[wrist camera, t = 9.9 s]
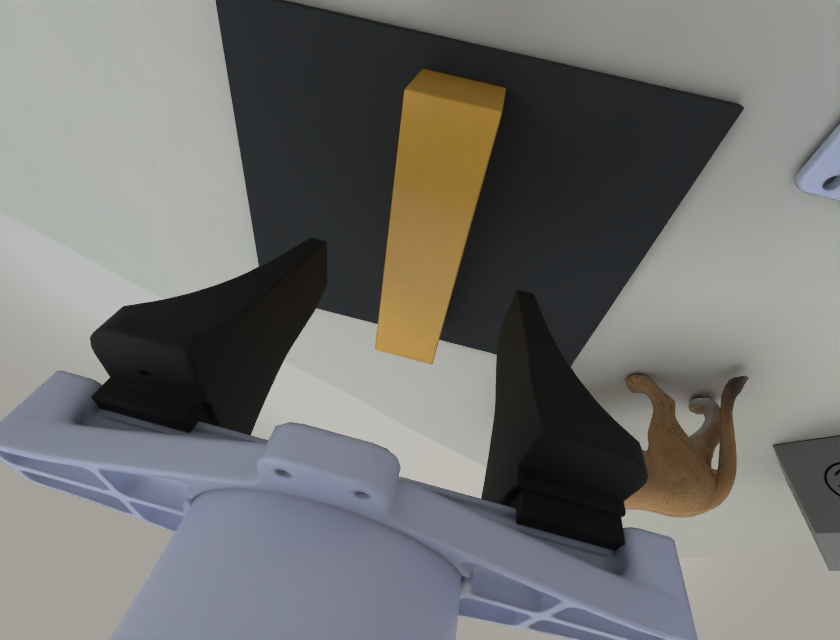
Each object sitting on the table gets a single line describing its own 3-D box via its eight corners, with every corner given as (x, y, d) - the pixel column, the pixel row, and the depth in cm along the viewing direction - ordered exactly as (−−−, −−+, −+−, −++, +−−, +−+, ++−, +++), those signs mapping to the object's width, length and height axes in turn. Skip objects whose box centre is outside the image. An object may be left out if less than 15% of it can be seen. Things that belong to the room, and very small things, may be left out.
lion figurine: (518, 449, 30) (515, 589, 23) (476, 411, 27) (460, 553, 21) (757, 394, 21) (855, 587, 15) (724, 333, 19) (822, 528, 13)
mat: (740, 103, 13) (745, 107, 13) (566, 367, 23) (566, 372, 23) (219, -15, 14) (212, -14, 13) (266, 290, 23) (263, 295, 23)
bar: (440, 327, 22) (432, 364, 20) (388, 313, 22) (374, 349, 20) (506, 87, 14) (502, 111, 12) (422, 68, 14) (404, 88, 12)
